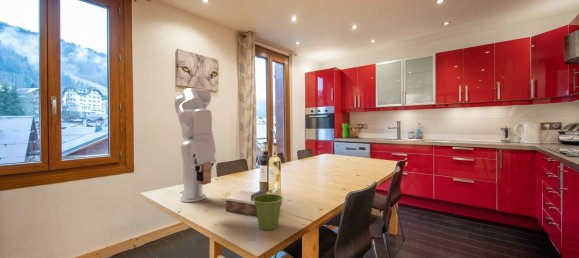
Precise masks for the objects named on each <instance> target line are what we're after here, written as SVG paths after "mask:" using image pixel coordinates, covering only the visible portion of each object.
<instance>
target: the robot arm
mask: <svg viewBox="0 0 579 258" xmlns="http://www.w3.org/2000/svg"><path fill="white" fill-rule="evenodd" d="M211 101H212V94H211V92H210V91H209V90H208V89H206V88H194V87H193V88H192V87H189V88H185V89H184V90H183V91H182V94H181V95H179V96H176V97H175V98H174V109H175V112H176V114H177V118H178V122H179V124H180V128H181V135H182V138H183V140H184V142H182V143H181V145H180V152H181V153H180V154H181V158H182V167H183V168H182V170H183V173H182V174H183V176H182V177H183V189H182V190H181V191H179V194H182V196H181V197H180V201H181V202H183V203H193V202H194V203H195V202H199V201H202V200H205V199H206V197H207V195H206V194H205V193H204V192H203V191H204V190H203V185H202V184H197V181H203V172H202V165H203V164H204V163H206V162H210V161H211V170H212V169H213V166H214V165H215V163H216V162H217V160H216V155H215V154H216V144H215V140H214V139H215V138H214V134H213V115H212V114H213V113H212V111H211V110H210V109H207V108H208V107H209V105H210V103H211ZM198 166H199V167H198Z"/></svg>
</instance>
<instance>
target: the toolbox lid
mask: <svg viewBox="0 0 579 258" xmlns="http://www.w3.org/2000/svg"><path fill="white" fill-rule="evenodd" d="M262 194H268V192H267V189H263V188H262V189H260V190H258V191H250V190H249V191H247V190H241V191H239V192H235V194H231V195H229V196H227V197H225V201H226V200H228V201H235V202H241V203H247V204H254V205H255V203H254V201H253V198H254V197H255V196H258V195H262Z"/></svg>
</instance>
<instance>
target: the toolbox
mask: <svg viewBox="0 0 579 258" xmlns="http://www.w3.org/2000/svg"><path fill="white" fill-rule="evenodd" d="M225 212H227V213H233V214H238V215H243V216H249V217H254V218H258V217H257V211H256V206H255V205H254V204H247V203H241V202H235V201H228V200H226V199H225Z"/></svg>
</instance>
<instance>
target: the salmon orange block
mask: <svg viewBox="0 0 579 258" xmlns="http://www.w3.org/2000/svg"><path fill="white" fill-rule="evenodd" d="M198 167H199V166H198ZM202 172H203V181H197V184H202V185H204V186H205V185H208V184H211V183H212V169H211V161H210V162H206V163H204V164H203V165H202Z"/></svg>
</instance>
